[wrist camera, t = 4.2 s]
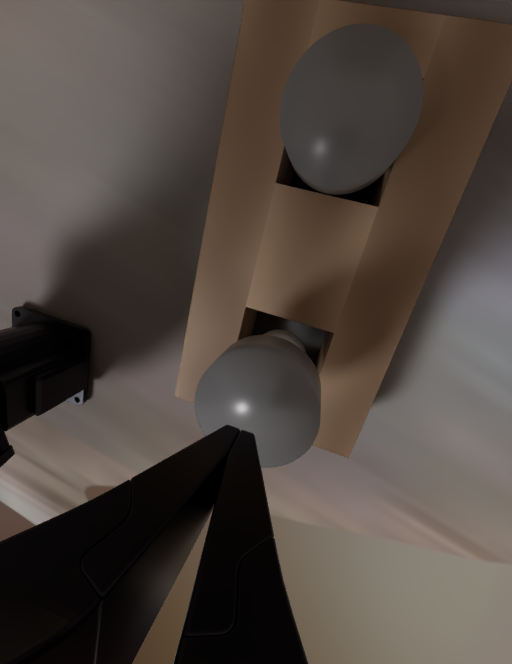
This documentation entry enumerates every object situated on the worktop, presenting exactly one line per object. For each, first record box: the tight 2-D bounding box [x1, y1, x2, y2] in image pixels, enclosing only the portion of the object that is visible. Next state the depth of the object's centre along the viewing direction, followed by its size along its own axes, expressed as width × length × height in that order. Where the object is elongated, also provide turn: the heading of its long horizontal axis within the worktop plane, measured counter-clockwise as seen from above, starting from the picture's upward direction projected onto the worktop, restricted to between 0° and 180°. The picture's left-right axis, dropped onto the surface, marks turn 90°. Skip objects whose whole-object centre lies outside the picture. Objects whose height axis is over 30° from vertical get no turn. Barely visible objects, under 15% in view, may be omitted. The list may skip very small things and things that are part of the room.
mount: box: [175, 0, 512, 458], centre depth 15 cm, size 10×18×4 cm, turn 166°
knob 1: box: [195, 330, 321, 468], centre depth 13 cm, size 4×4×6 cm
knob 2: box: [280, 23, 423, 195], centre depth 12 cm, size 4×4×6 cm
